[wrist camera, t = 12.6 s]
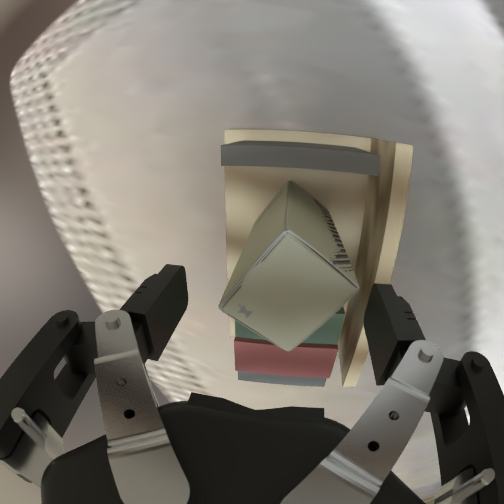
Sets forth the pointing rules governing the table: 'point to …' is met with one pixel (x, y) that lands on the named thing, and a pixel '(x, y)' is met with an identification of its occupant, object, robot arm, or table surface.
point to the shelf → (346, 222)
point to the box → (290, 271)
